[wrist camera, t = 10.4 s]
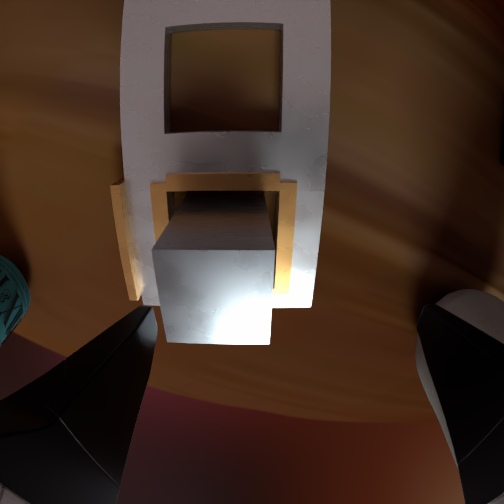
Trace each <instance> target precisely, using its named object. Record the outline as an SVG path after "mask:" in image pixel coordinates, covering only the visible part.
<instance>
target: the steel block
mask: <svg viewBox="0 0 504 504" xmlns="http://www.w3.org/2000/svg"><path fill="white" fill-rule="evenodd" d="M151 251H152V258H153V265H154V271H155V278H156V284H157V290H158V296H159V302H160V307H161V313H162V318H163V323H164V328H165V333H166V338H167V342H179V343H202V344H270V330H271V315H272V298H273V281H274V263H275V247H274V242H273V237H272V231H271V226H270V221H269V216H268V211H267V206H266V201H265V196H186V197H185V199H184V200H183V202H182V203H181V205H180V206H179V208H178V209H177V211H176V212H175V214H174V215H173V217H172V218H171V220H170V221H169V223H168V224H167V226H166V227H165V229H164V231H163V232H162V234H161V235H160V237H159V238H158V240H157V242H156V243H155V245H154V246H153V248H152V250H151Z"/></svg>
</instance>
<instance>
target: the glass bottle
mask: <svg viewBox="0 0 504 504" xmlns="http://www.w3.org/2000/svg"><path fill="white" fill-rule="evenodd" d="M436 304H437V305H438V306H440V307H442V308H444V309H445V310H447V311H449V312H451V313H452V314H454V315H456V316H458V317H459V318H461V319H463V320H465V321H466V322H468V323H470V324H471V325H473V326H475V327H477V328H478V329H480V330H482V331H483V332H485V333H487V334H488V335H490V336H492V337H493V338H495V339H497V340H498V341H500V342H502V343H503V344H504V302H503V301H502V300H500V299H499V298H497V297H495V296H493V295H491V294H488V293H486V292H483V291H479V290H474V289H463V290H458V291H455V292H452V293H449V294H447V295H446V296H445V297H443V298H442V299H441V300H439V301H438V302H437V303H436ZM415 356H416V364H417V369H418V373H419V376H420V379H421V382H422V384H423V387H424V389H425V392H426V394H427V396H428V398H429V400H430V402H431V405H432V407H433V409H434V411H435V413H436V415H437V417H438V420H439V422H440V424H441V427H442V429H443V432H444V434H445V437H446V439H447V442H448V445H449V447H450V450H451V452H452V455H453V457H454V460H455V462H456V465H457V467H458V464H457V461H456V457H455V453H454V449H453V445H452V441H451V438H450V434H449V431H448V427H447V424H446V421H445V417H444V414H443V411H442V408H441V404H440V401H439V398H438V395H437V392H436V389H435V387H434V384H433V381H432V378H431V375H430V372H429V370H428V367H427V364H426V360H425V356H424V353H423V349H422V345H421V342H420V338H419V335H418V336H417V340H416V348H415ZM491 504H504V496H503V497H502V498H500V499H498V500H497V501H495V502H493V503H491Z"/></svg>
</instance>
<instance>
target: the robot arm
mask: <svg viewBox="0 0 504 504" xmlns="http://www.w3.org/2000/svg"><path fill="white" fill-rule="evenodd" d="M501 163H502V164H503V165H504V130H503V141H502V150H501ZM417 331H418V335H419V338H420V342H421V345H422V349H423V353H424V356H425V360H426V364H427V367H428V370H429V372H430V375H431V378H432V381H433V384H434V387H435V389H436V392H437V395H438V398H439V401H440V404H441V408H442V411H443V414H444V417H445V421H446V424H447V427H448V431H449V434H450V438H451V441H452V445H453V449H454V453H455V457H456V461H457V464H458V470H459V474H460V479H461V484H462V488H463V494H464V499H465V504H491V503H493V502H495V501H497V500H498V499H500V498H502V497H503V496H504V344H503V343H502V342H500V341H498V340H497V339H495V338H493V337H492V336H490V335H488V334H487V333H485V332H483V331H482V330H480V329H478V328H477V327H475V326H473V325H471V324H470V323H468V322H466V321H465V320H463V319H461V318H459V317H458V316H456V315H454V314H452V313H451V312H449V311H447V310H445V309H444V308H442V307H440V306H438V305H437V304H426V305H424V307H423V309H422V312H421V314H420V317H419V320H418V323H417ZM156 337H157V323H156V319H155V314H154V310H153V308H152V307H151V306H139V307H137V308H136V309H135V310H133V311H132V312H130V313H129V314H127V315H126V316H125V317H123V318H122V319H120V320H119V321H118V322H116V323H115V324H113V325H112V326H111V327H109V328H108V329H106V330H105V331H104V332H102V333H101V334H99V335H98V336H97V337H95V338H94V339H92V340H91V341H90V342H88V343H87V344H86V345H84V346H83V347H81V348H80V349H79V350H77V351H76V352H74V353H73V354H72V355H70V356H69V357H68V358H66V360H63V361H62V362H61V363H59V364H58V365H57V366H55V367H54V368H52V369H51V370H49V371H48V372H47V373H45V374H44V375H42V376H40V377H39V378H37V379H36V380H34V381H32V382H31V383H29V384H27V385H26V386H24V387H23V388H21V389H19V390H18V391H16V392H14V393H13V394H11V395H9V396H8V397H6V398H4V399H2V400H0V504H117V499H118V494H119V490H120V484H121V480H122V476H123V472H124V467H125V464H126V459H127V455H128V451H129V447H130V443H131V440H132V436H133V432H134V428H135V424H136V421H137V417H138V414H139V410H140V406H141V402H142V399H143V396H144V392H145V389H146V385H147V382H148V379H149V375H150V371H151V365H152V359H153V354H154V348H155V343H156Z"/></svg>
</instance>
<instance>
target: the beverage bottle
mask: <svg viewBox="0 0 504 504" xmlns="http://www.w3.org/2000/svg"><path fill="white" fill-rule="evenodd" d="M29 304H30V292H29V289H28V286H27V283H26V281H25V279H24V277H23V275H22V274H21V272H20V271H19V269H18V268H17V267H16V266H15V265H14V264H13V263H12V262H11V261H10V260H8V259H7V258H5V257H3V256H0V344H1V343H2V341H3V340H4V339H5V338H6V337H7V335H8V334H9V333H10V331H11V330H12V329H13V328H14V327H15V328H16V326H17V325H18V323H20V322H21V320H22V319H21V318H22V317H23V315H24V314H25V313H26V312H28V311H27V309H28V307H29ZM20 319H21V320H20ZM19 320H20V321H19ZM18 321H19V322H18ZM15 328H14V329H15ZM14 329H13V330H14ZM13 330H12V331H13ZM12 331H11V333H12ZM11 333H10V334H11ZM10 334H9V335H10ZM9 335H8V336H9ZM7 338H8V337H7ZM7 338H6V339H7ZM4 342H5V340H4ZM4 342H3V343H4ZM3 343H2V344H3Z"/></svg>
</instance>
